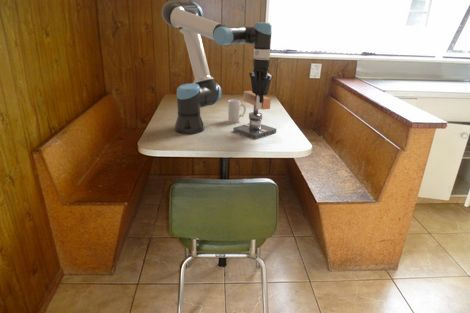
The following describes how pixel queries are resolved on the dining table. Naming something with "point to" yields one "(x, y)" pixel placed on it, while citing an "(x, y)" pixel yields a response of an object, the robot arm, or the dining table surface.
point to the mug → (235, 110)
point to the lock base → (256, 132)
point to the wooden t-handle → (251, 98)
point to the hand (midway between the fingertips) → (258, 108)
